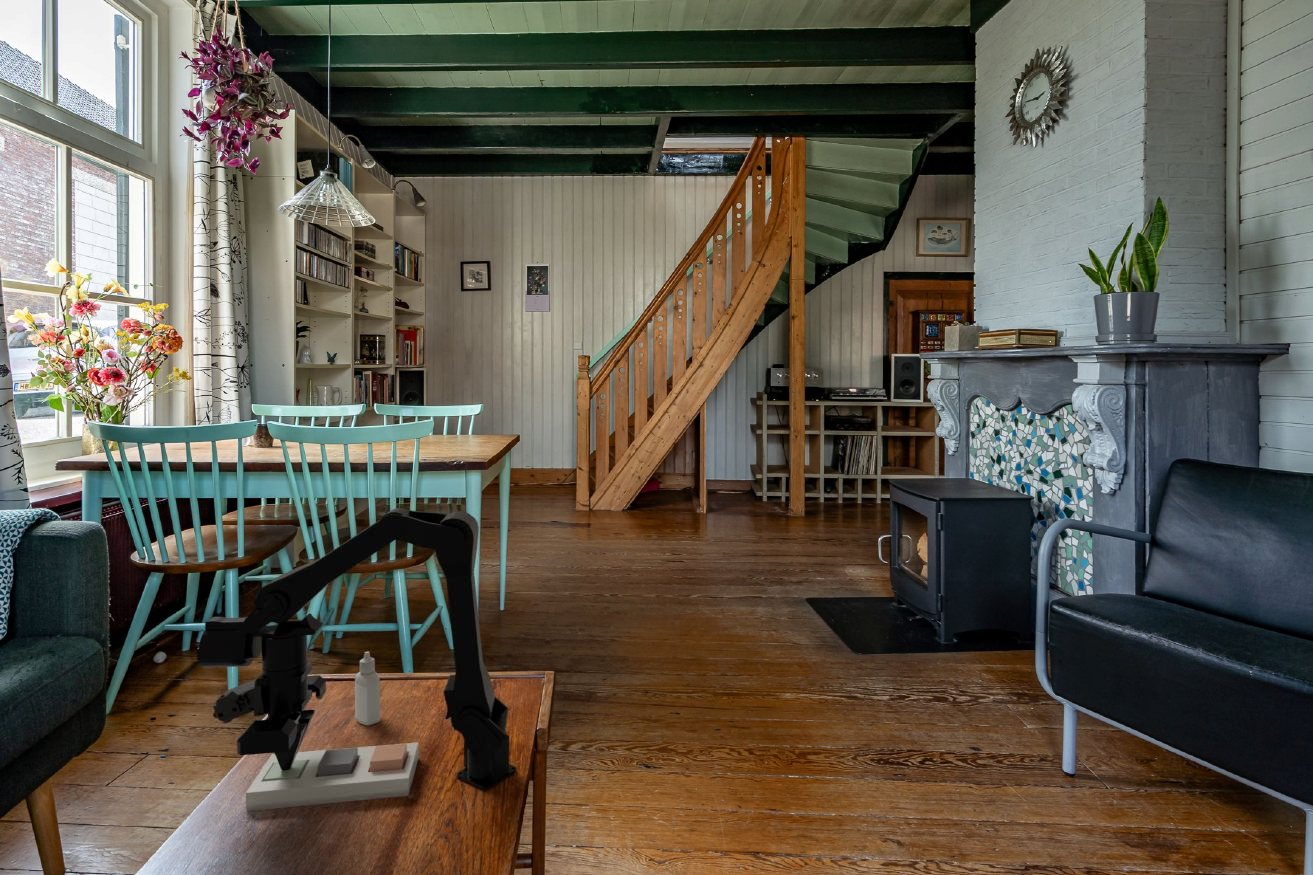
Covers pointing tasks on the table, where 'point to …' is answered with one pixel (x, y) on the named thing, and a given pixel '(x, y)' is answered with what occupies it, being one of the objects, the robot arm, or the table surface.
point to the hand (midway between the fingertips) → (286, 769)
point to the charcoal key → (338, 762)
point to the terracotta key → (388, 757)
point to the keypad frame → (331, 782)
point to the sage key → (286, 771)
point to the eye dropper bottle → (367, 692)
